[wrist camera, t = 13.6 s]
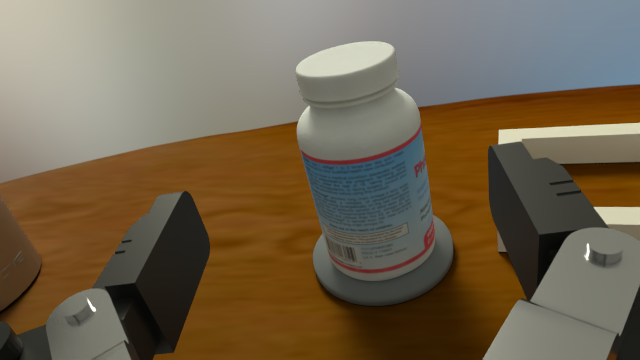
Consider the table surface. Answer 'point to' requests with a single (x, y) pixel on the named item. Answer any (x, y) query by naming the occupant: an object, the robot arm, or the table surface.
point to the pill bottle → (365, 161)
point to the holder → (585, 158)
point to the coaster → (392, 288)
